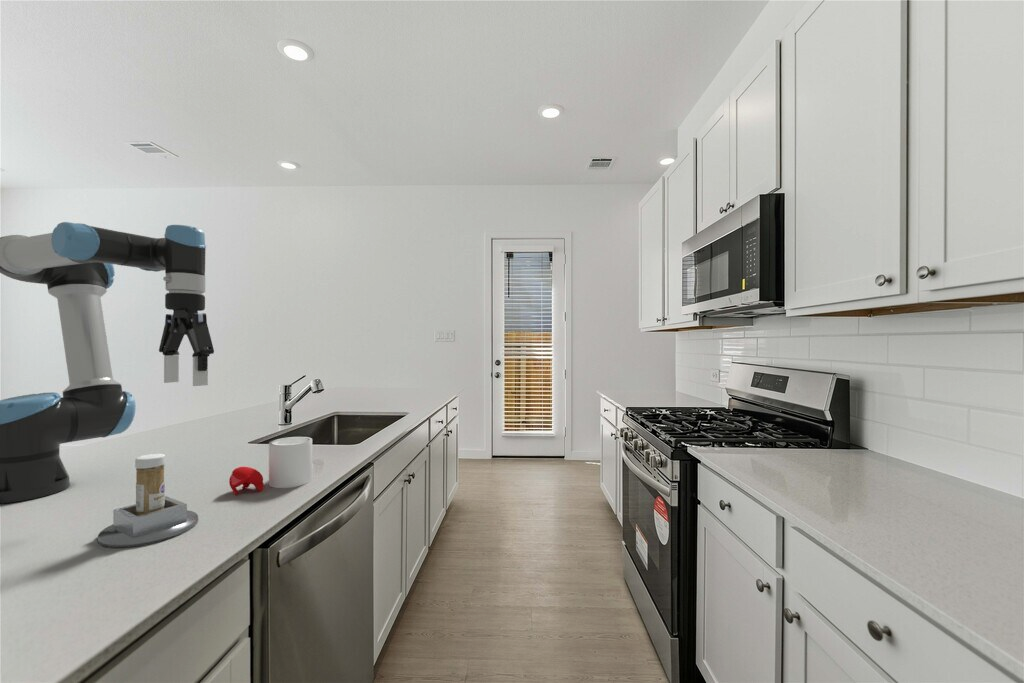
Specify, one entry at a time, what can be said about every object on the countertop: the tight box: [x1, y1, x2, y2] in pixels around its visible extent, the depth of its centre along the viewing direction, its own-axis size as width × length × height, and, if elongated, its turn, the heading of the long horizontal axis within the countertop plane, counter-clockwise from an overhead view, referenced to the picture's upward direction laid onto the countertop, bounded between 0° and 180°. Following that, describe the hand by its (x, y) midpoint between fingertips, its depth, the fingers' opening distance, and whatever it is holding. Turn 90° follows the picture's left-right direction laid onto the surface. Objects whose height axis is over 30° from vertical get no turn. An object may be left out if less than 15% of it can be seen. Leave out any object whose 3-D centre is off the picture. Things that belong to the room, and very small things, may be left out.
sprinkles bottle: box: [134, 453, 166, 516], centre depth 86 cm, size 5×5×14 cm
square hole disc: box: [97, 495, 199, 549], centre depth 86 cm, size 15×15×4 cm
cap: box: [228, 466, 265, 496], centre depth 108 cm, size 8×6×6 cm
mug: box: [268, 436, 313, 489], centre depth 117 cm, size 14×10×11 cm
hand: (185, 384), depth 104 cm, fingers open, 13 cm apart
